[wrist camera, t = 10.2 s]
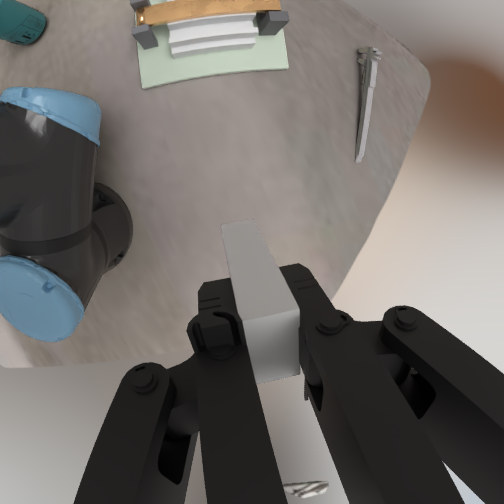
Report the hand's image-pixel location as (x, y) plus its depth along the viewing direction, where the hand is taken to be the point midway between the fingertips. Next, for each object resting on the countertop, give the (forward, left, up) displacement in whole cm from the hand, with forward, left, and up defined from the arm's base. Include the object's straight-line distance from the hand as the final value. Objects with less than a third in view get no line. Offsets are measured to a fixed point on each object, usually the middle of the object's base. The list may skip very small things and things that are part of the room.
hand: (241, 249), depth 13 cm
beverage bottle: (-27, +32, -31) cm, 52 cm away
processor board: (+2, +22, -30) cm, 38 cm away
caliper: (+25, +7, -31) cm, 40 cm away
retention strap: (+2, +22, -26) cm, 34 cm away
